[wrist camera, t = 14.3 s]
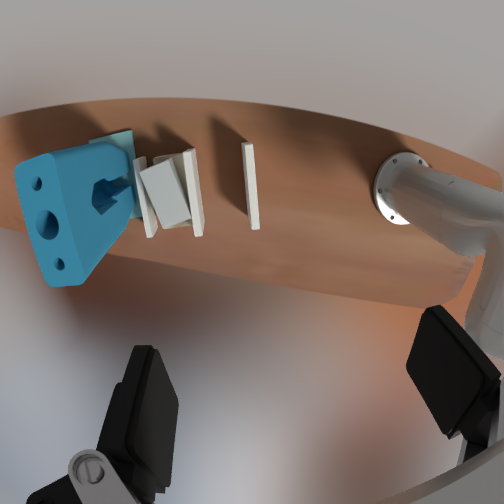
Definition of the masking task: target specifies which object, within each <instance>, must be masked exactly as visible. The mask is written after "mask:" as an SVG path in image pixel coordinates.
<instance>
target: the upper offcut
mask: <svg viewBox="0 0 504 504" xmlns="http://www.w3.org/2000/svg"><path fill="white" fill-rule="evenodd" d="M139 173H140V176H141V178H142V181H143V183H144V185H145V188H146V190H147V193H148V195H149V197H150V200H151V202H152V204H153V207H154V209H155V211H156V214H157V216H158V218H159V220H160V223H161V225H162V227H163V229H165V228H167V227H170V226H172V225H175V224H178V223H180V222H183V221H185V220H188V219H191V218H192V215H191V209H190V202H189V200H188V197H187V195H186V192H185V190H184V187H183V185H182V182H181V180H180V177H179V175H178V172H177V170H176V167H175V164H174V162H173V159H172V158H170V159H167V160H165V161H162V162H160V163H158V164H155V165H153V166H151V167H148V168H146V169H144V170H142V171H141V172H139Z"/></svg>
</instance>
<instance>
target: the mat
mask: <svg viewBox="0 0 504 504" xmlns="http://www.w3.org/2000/svg"><path fill="white" fill-rule="evenodd" d="M101 141H107V142H109V143H111V144H113V145H115V146H117V147H119V148H121V149H123V150H125V151H126V152H127V153H128V155H129V161H130V167H131V171H129V172H127V173H125V174H123V175H122V176H120V177H118V178H116V179H114V180H112V183H113V185H114V186H116V187H120V186H125V185H130V184H134V189H135V194H136V203H135V206H134V208H133V210H132V213H131V215H130V218H129V219H131V218H138V217H143V216H142V210H141V205H140V200H139V195H138V189H137V183H136V177H135V171H134V165H133V160H135V159H136V154H135V147H134V139H133V131H132V130H129V131H125V132H121V133H116V134H112V135H108V136H104V137H100V138H97V139H93V140H89V144H90V143H96V142H101Z"/></svg>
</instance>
